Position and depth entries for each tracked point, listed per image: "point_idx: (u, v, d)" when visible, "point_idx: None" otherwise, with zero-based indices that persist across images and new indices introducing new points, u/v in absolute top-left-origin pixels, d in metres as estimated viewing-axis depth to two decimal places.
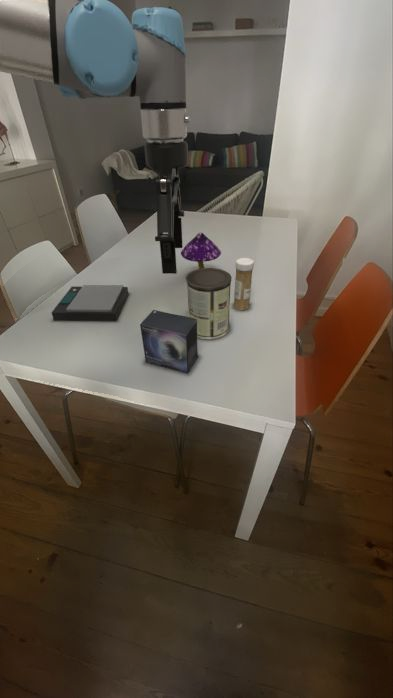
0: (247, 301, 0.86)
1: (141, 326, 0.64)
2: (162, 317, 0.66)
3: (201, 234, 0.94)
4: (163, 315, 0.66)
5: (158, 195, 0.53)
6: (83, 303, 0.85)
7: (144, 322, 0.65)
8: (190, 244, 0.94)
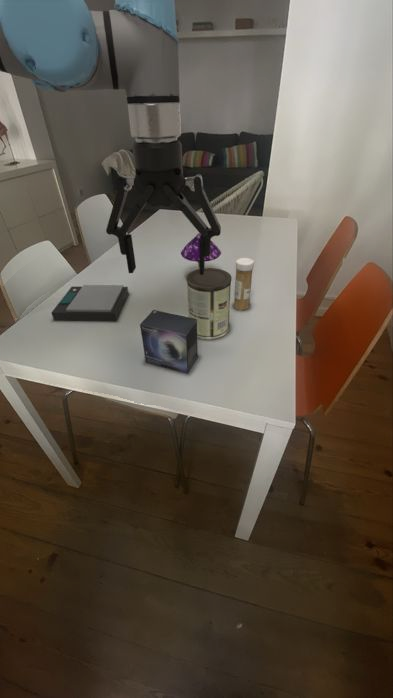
0: (247, 301, 0.86)
1: (141, 326, 0.64)
2: (162, 317, 0.66)
3: None
4: (163, 315, 0.66)
5: (203, 192, 0.51)
6: (83, 303, 0.85)
7: (144, 322, 0.65)
8: (190, 244, 0.94)
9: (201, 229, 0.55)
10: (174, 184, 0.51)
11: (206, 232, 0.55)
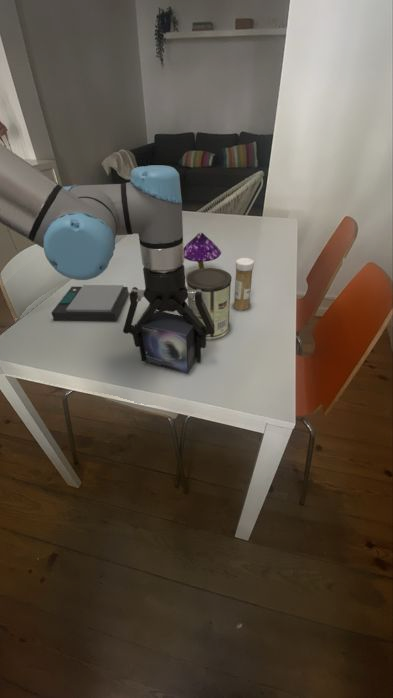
0: (247, 301, 0.86)
1: (141, 326, 0.64)
2: (162, 317, 0.66)
3: (201, 234, 0.94)
4: (163, 315, 0.66)
5: (202, 304, 0.61)
6: (83, 303, 0.85)
7: None
8: (190, 244, 0.94)
9: (198, 330, 0.64)
10: (178, 297, 0.60)
11: (202, 332, 0.65)
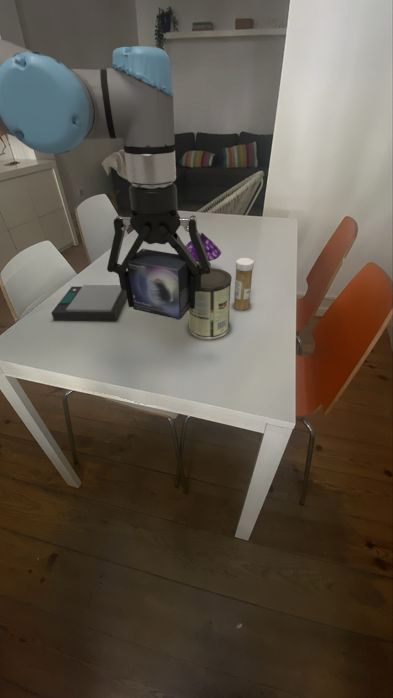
0: (247, 301, 0.86)
1: (127, 262, 0.57)
2: (152, 254, 0.58)
3: (201, 234, 0.94)
4: (153, 253, 0.59)
5: (196, 234, 0.53)
6: (83, 303, 0.85)
7: None
8: (190, 244, 0.94)
9: (192, 267, 0.57)
10: (169, 224, 0.52)
11: (197, 270, 0.57)
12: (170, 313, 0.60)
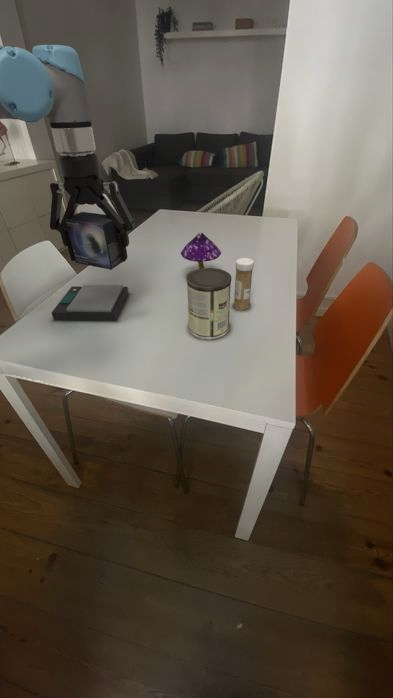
0: (247, 301, 0.86)
1: (65, 221, 0.70)
2: (87, 215, 0.71)
3: (201, 234, 0.94)
4: (88, 214, 0.72)
5: (117, 195, 0.66)
6: (83, 303, 0.85)
7: None
8: (190, 244, 0.94)
9: (118, 224, 0.70)
10: (94, 187, 0.65)
11: (122, 227, 0.70)
12: (103, 264, 0.73)
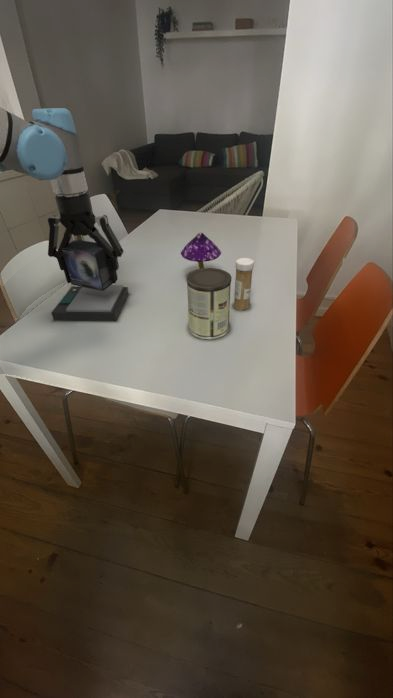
0: (247, 301, 0.86)
1: (61, 249, 0.79)
2: (80, 243, 0.81)
3: (201, 234, 0.94)
4: (82, 242, 0.81)
5: (107, 228, 0.76)
6: (83, 303, 0.85)
7: None
8: (190, 244, 0.94)
9: (108, 252, 0.79)
10: (87, 221, 0.75)
11: (112, 254, 0.79)
12: (95, 286, 0.82)
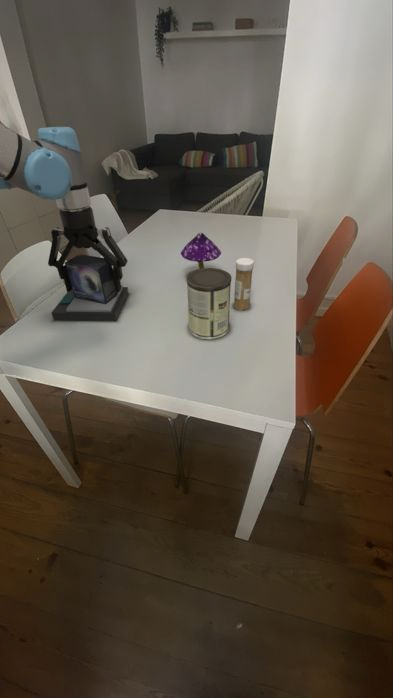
0: (247, 301, 0.86)
1: (66, 264, 0.82)
2: (84, 258, 0.83)
3: (201, 234, 0.94)
4: (85, 257, 0.84)
5: (109, 239, 0.77)
6: (83, 303, 0.85)
7: (68, 261, 0.82)
8: (190, 244, 0.94)
9: (112, 262, 0.81)
10: (89, 234, 0.77)
11: (116, 264, 0.81)
12: (98, 299, 0.84)
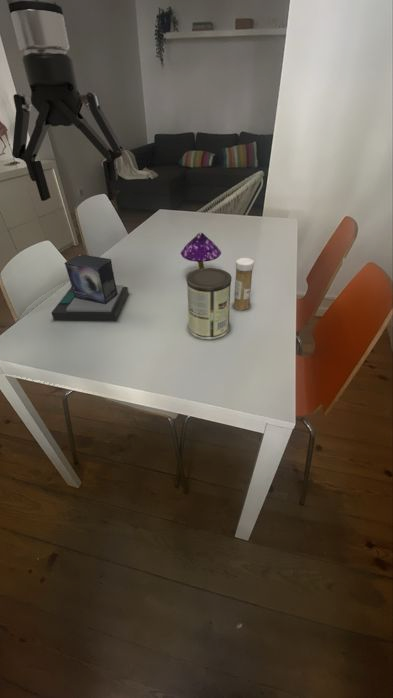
0: (247, 301, 0.86)
1: (65, 264, 0.81)
2: (84, 258, 0.83)
3: (201, 234, 0.94)
4: (85, 257, 0.84)
5: (98, 110, 0.54)
6: (83, 303, 0.85)
7: (68, 261, 0.82)
8: (190, 244, 0.94)
9: (102, 150, 0.57)
10: (69, 101, 0.53)
11: (108, 153, 0.57)
12: (98, 299, 0.84)
